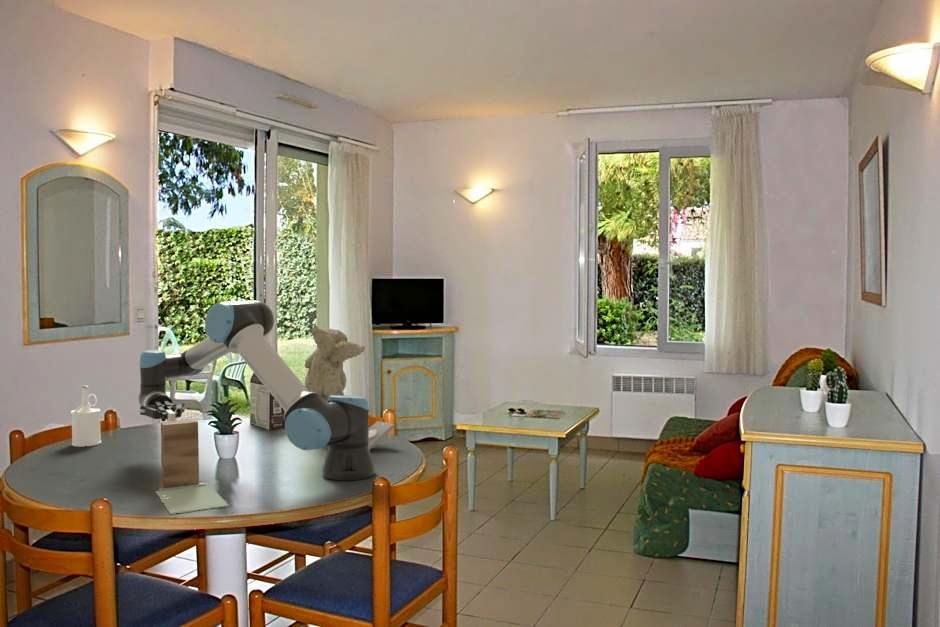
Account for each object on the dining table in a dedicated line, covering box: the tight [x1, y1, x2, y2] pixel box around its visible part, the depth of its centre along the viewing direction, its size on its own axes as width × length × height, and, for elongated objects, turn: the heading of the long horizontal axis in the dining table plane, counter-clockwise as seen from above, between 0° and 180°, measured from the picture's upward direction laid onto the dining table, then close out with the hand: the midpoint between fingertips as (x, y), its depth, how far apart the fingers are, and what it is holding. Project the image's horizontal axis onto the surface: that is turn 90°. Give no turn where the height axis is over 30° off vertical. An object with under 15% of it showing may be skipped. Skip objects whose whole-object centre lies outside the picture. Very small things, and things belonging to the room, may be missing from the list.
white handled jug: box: [70, 385, 102, 448], centre depth 279 cm, size 10×9×20 cm
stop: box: [158, 482, 207, 491], centre depth 224 cm, size 1×12×1 cm, turn 120°
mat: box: [155, 484, 230, 515], centre depth 215 cm, size 22×14×1 cm, turn 30°
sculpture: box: [304, 322, 366, 403], centre depth 298 cm, size 22×24×40 cm
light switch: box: [369, 420, 395, 451], centre depth 276 cm, size 8×6×14 cm
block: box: [160, 418, 200, 488], centre depth 226 cm, size 4×9×18 cm, turn 120°
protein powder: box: [249, 372, 285, 431], centre depth 312 cm, size 16×9×28 cm, turn 42°
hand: (172, 418), depth 233 cm, fingers closed
